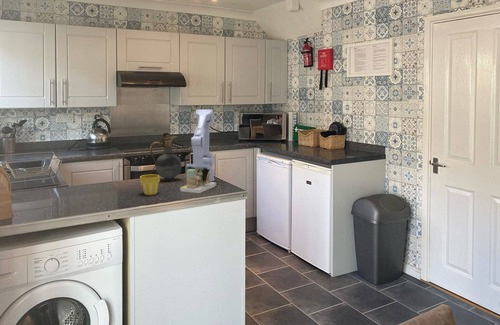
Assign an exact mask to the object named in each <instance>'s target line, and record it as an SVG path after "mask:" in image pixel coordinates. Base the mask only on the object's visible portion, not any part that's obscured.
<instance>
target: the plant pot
mask: <svg viewBox="0 0 500 325" xmlns="http://www.w3.org/2000/svg"><path fill="white" fill-rule="evenodd" d="M160 179H161V176H160V175H159V174H143V175H140V176H139V182H140V184H141V186H142V190H143V193H144V195H145V196H153V195H156V194H157V193H158V189H159V183H160V182H161V180H160Z"/></svg>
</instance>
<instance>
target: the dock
mask: <svg viewBox="0 0 500 325" xmlns="http://www.w3.org/2000/svg"><path fill="white" fill-rule="evenodd" d="M216 186H217V182H214V181H211V182H210V183H207V184H204V185H203V186H198V188H195V189H192V188H187V184H185V185H183V186H180V187H179V191H180V192H183V193H192V194H201V193H203V192H206V191H208V190H210V189H213V188H214V187H216Z"/></svg>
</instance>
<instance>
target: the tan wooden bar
mask: <svg viewBox="0 0 500 325" xmlns="http://www.w3.org/2000/svg"><path fill="white" fill-rule="evenodd" d="M196 176H197V177H194V178H189V177H187V176H186V179H185V180H186V185H187V188H192V189H195V188H198V186H203V185H204V184H207V183H210V172H208V175H207V178H206V181H205V182H203V174H202V173H199V172H198V173H197V172H196Z"/></svg>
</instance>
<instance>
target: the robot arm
mask: <svg viewBox="0 0 500 325" xmlns="http://www.w3.org/2000/svg"><path fill="white" fill-rule="evenodd" d="M195 118H196V121H197V126H196V127H195V129H194V134H193V136H191V139H190V140H191V142H190V143H191V149H192V163H187V164H186V166H185V167H186V170H188V169H203V170H202V174H203V182H205V181H206V178H207V175H208V172H210V182H214V181H216V179H215V177H214V176H215V174H214V173H215V172H214V171H215V170H214V168H213V166H214V162H215V160H214V154H213V153H212V152H211V151H210V132H211V130H210V129H211V128H210V127H211V125H212V124H213V123H214V111H213V109H196V110H195ZM200 167H201V168H200ZM198 173H200V171H198Z"/></svg>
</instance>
